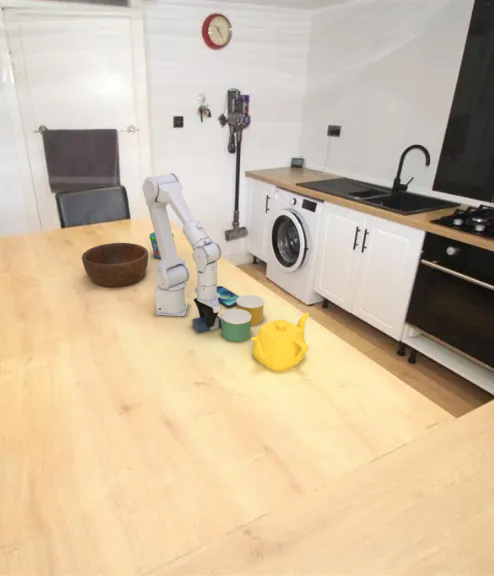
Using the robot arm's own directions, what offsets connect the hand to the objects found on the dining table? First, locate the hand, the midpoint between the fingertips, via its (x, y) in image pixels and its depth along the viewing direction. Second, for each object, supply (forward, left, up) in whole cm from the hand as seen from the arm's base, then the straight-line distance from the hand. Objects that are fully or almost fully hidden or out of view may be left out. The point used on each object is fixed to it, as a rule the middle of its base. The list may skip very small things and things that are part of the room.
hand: (207, 323), depth 126 cm
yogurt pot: (+9, -3, -2) cm, 10 cm away
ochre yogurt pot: (+13, +7, -2) cm, 15 cm away
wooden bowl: (-39, +35, -2) cm, 52 cm away
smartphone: (+4, +21, -2) cm, 21 cm away
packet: (0, 0, -2) cm, 2 cm away
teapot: (+22, -15, -2) cm, 27 cm away
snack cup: (-26, +60, -2) cm, 65 cm away
